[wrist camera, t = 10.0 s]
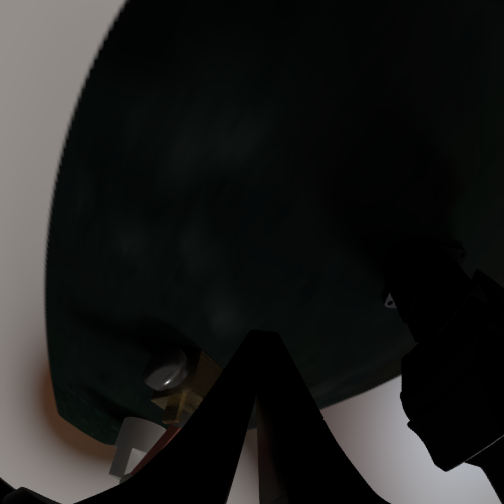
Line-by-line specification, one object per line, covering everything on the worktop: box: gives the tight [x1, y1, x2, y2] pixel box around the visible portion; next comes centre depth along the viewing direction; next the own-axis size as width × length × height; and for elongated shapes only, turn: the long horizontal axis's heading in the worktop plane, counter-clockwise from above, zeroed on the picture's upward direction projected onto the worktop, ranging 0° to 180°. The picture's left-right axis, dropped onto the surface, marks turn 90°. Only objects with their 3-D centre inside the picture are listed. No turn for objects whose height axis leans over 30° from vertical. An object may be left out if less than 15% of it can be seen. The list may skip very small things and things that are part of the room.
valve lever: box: [119, 409, 192, 484], centre depth 21 cm, size 3×3×12 cm
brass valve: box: [143, 344, 224, 424], centre depth 26 cm, size 6×10×8 cm, turn 34°
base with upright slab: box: [109, 417, 166, 480], centre depth 35 cm, size 9×9×12 cm
